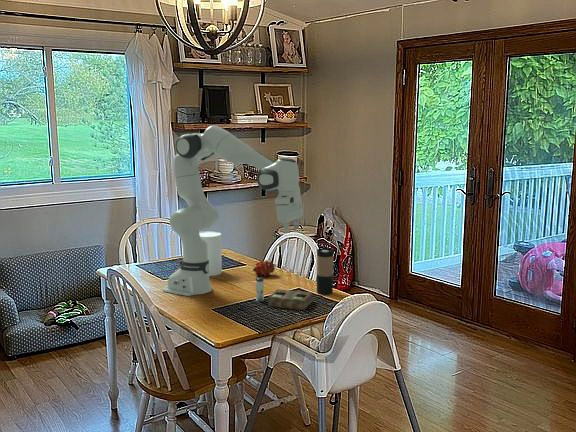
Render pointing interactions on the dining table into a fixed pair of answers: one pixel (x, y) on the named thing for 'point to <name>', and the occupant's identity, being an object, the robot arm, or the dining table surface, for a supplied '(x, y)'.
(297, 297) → the socket block
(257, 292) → the steel plug
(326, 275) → the travel mug
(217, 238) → the canister
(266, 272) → the dragon fruit
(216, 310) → the dining table surface
